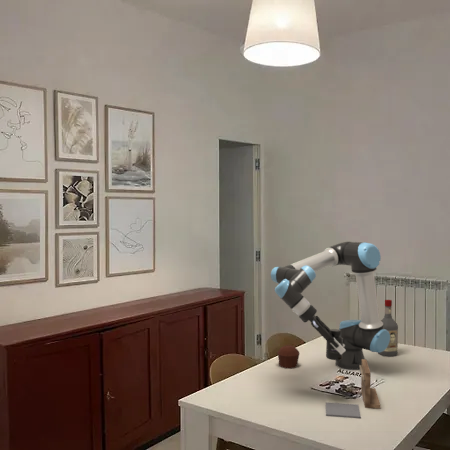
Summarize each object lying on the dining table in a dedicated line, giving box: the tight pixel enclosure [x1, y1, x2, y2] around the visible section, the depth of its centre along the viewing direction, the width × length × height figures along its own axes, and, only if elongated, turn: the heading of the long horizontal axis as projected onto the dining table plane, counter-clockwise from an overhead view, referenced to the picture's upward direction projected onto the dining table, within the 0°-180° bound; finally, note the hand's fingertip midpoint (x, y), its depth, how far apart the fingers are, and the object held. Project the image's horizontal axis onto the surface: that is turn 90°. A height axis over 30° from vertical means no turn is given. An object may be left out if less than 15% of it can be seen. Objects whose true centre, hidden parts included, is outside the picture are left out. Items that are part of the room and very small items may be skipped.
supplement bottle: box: [325, 328, 343, 361], centre depth 226 cm, size 7×7×12 cm
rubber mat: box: [325, 401, 362, 419], centre depth 211 cm, size 13×13×1 cm
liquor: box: [377, 299, 399, 358], centre depth 293 cm, size 9×9×30 cm
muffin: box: [276, 345, 300, 369], centre depth 271 cm, size 12×11×10 cm
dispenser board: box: [359, 358, 381, 409], centre depth 224 cm, size 7×20×14 cm, turn 170°
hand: (343, 349), depth 225 cm, fingers closed on supplement bottle, 7 cm apart
